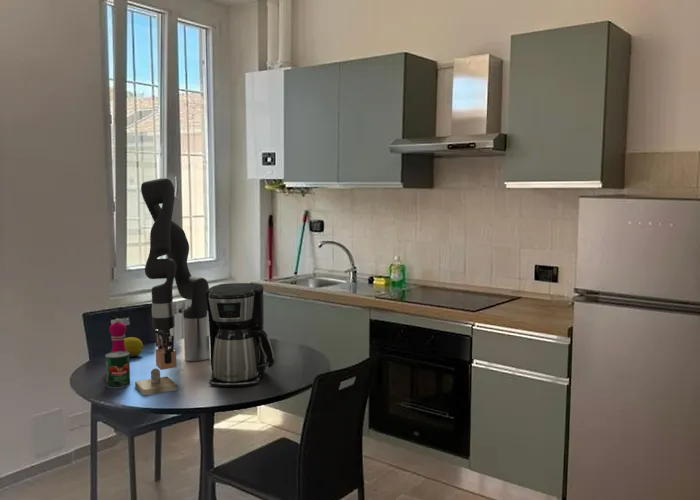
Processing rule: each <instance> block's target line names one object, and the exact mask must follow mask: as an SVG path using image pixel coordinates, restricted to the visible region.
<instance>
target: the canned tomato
mask: <svg viewBox="0 0 700 500" xmlns="http://www.w3.org/2000/svg"><path fill="white" fill-rule="evenodd" d="M104 357H105V378H106V380H105V381H106V383H105V384H106V387H107V388H109V389H120V388H121V389H122V388H125V387H128V386H130V385H131V373H130V372H131V369H130V366H131V365H130V364H131V363H130V357H129V352H126V351H117V352H111V351H110V352H108V353H106V354H105V356H104Z"/></svg>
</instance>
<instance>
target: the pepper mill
mask: <svg viewBox="0 0 700 500" xmlns="http://www.w3.org/2000/svg"><path fill="white" fill-rule="evenodd" d="M114 321H115V322H114V323H112V324H111V325H109V328H108V329H109V333H110V335H111V336H110V337H111V338H110V339H111V341H112V348H111V351H110V353H111V352H117V351H126V352H127V350H126V348H125V345H124V339H125V338H126V332H127V325H126V324H125V323H123V322H121V319H120V318H116V319H115V320H114Z"/></svg>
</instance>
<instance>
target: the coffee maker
mask: <svg viewBox="0 0 700 500" xmlns="http://www.w3.org/2000/svg"><path fill="white" fill-rule="evenodd" d="M206 299H207V307H208V311H207V317H208V328H209V329H208V331H209V341H210V367H211V368H210V369H211V376H210V379H209V380H208V381H207V383H208V384H209V385H210V386H211V387H213V386H214V387H227V388H229V387H233V388H234V387H235V388H236V387H247V386H255V385H257V384H258V383H259V382H260V380H261V379H263V378H265V374H266V373H265V371H266V367H267V366H268V368H269V369H270V368H272V366H273V365H274V363H275V356H274V351H273V347H272V342H271V340H270V337H269V336H268V334H267V332H266V331H264V325H265V324H264V320H265V319H264V318H265V317H264V316H265V315H264V314H265V313H264V308H265V307H264V286H263V284H259V283H253V282H236V283H232V282H231V283H221V284H218V285H217V284H216V285H213V286H211V287H209V289H208V290H207V291H206Z"/></svg>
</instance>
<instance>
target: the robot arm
mask: <svg viewBox="0 0 700 500" xmlns="http://www.w3.org/2000/svg"><path fill="white" fill-rule="evenodd" d="M140 192H141V196H142V199H143V201H144V203H145V205H146V207H147V209H148V212H149V213H150V215H151V218H152V220H153V222H154V223H153V224H152V226H151V229H150V234H149V235H150V236H149V254H148V257H147V259H146V261H145V262H146V263H145V267H144V273H145V276H146V277H147V278H148V279H150V280H163V279H166V281H165V282H164V283H161V284H158V285H154V286H152V288H151V302H152V303H151V324H152V329H153V330H154V338H155V346H156V347H157V349H162V348H164V357H165V363H166V364H168V363H171V362H172V360H171V353H172V352H173V351H174V350H175V348H174V346H175V345H174V344H175V343H174V341H175V336H174V335H172V333H171V329H173V328H175V326H176V325H175V307H174V300H173V288H174V287H173V285H174V280H175V284H176V288H177V290H178V293H179V295H180V297H181V298H183V299H185V300H189V301H191V302H190V303H191V305H190V307H188V308H186V309H184V310H183V314H182V315H183V343H184V346H183V347H184V361H187V362H201V361H205V360H208V359H211V355H210V334H208V307H207V299H206V291H207V290H208V289H209V288H210V286H209V282H208V280H207V279H206V278H204V277H201V276H200V277H198V276H192V274H191V272H190V270H189V267H188V258H189V254H190V244H189V240H188V238H187V236H186V233H185V231H184V229H183V228H182V227H181V226H180V224H178V223H177V222H175V221H174V220H173V215H174V214H173V213H174V205H175V195H176V193H175V192H176V191H175V185H174V183H173V182H172V180H171V179H170V178H168V177H160V178H156V179H151V180H147V181H143V182H142V184H141V185H140ZM161 205H162V206H161ZM163 256H167V258H161V257H163ZM168 347H169V349H168Z"/></svg>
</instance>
